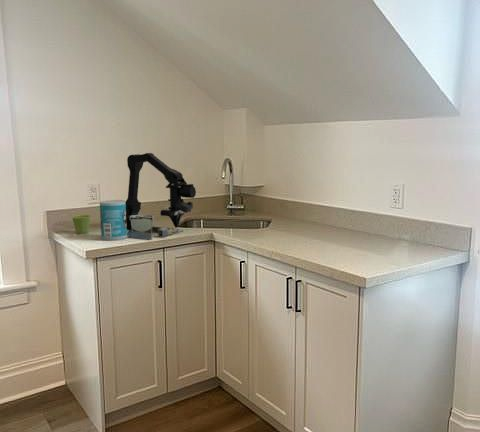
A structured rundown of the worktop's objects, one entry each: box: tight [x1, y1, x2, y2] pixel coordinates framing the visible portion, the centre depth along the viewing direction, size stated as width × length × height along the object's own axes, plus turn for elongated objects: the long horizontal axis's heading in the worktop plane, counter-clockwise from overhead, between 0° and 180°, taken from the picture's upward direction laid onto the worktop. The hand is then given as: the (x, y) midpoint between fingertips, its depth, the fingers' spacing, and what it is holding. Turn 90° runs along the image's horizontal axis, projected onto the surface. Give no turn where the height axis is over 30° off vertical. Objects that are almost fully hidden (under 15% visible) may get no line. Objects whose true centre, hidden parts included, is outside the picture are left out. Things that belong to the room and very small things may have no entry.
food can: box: [99, 199, 128, 242], centre depth 234 cm, size 12×12×18 cm
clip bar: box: [167, 226, 173, 235], centre depth 240 cm, size 2×6×4 cm, turn 152°
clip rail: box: [157, 227, 184, 239], centre depth 243 cm, size 3×18×4 cm, turn 152°
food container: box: [129, 214, 155, 236], centre depth 242 cm, size 12×6×10 cm, turn 84°
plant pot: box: [71, 214, 91, 235], centre depth 248 cm, size 9×9×9 cm
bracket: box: [127, 225, 167, 241], centre depth 241 cm, size 15×16×3 cm
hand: (176, 227), depth 247 cm, fingers closed
